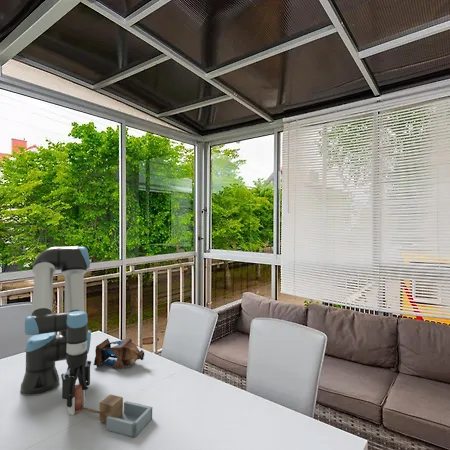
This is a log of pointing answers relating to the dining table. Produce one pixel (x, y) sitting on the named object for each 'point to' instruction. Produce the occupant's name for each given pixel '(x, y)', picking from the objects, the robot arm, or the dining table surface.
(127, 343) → the lantern
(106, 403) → the block and peg linkage
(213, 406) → the dining table surface
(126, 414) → the slate open-sided box
